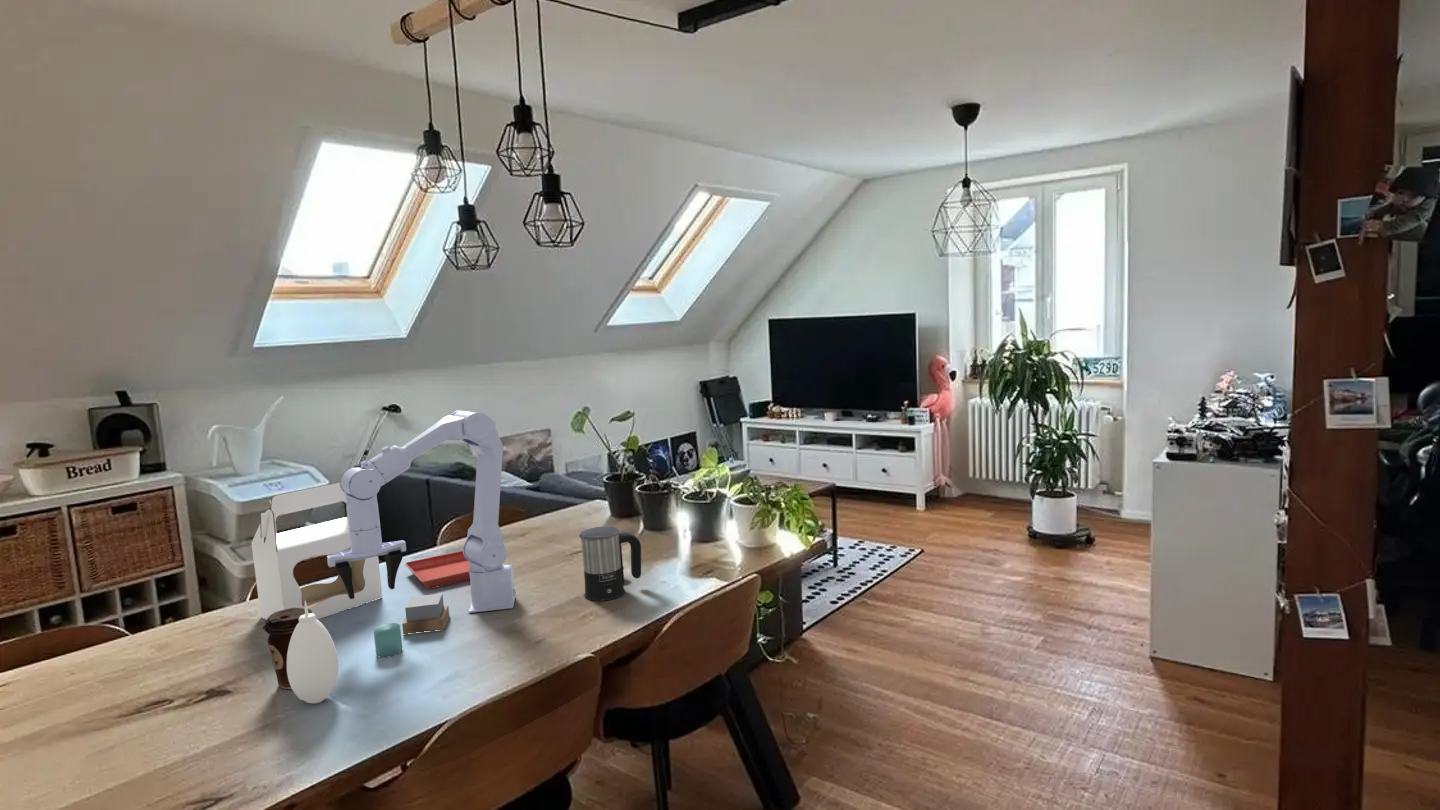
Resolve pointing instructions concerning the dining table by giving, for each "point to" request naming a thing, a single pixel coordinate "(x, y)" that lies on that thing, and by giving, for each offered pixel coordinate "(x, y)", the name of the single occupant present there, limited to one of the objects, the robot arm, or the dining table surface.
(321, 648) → the sauce bottle
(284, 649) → the coffee cup
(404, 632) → the walnut slab
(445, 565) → the plant saucer
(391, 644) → the teal cylinder
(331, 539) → the gable box
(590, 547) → the milk frother
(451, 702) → the dining table surface
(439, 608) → the gray block
